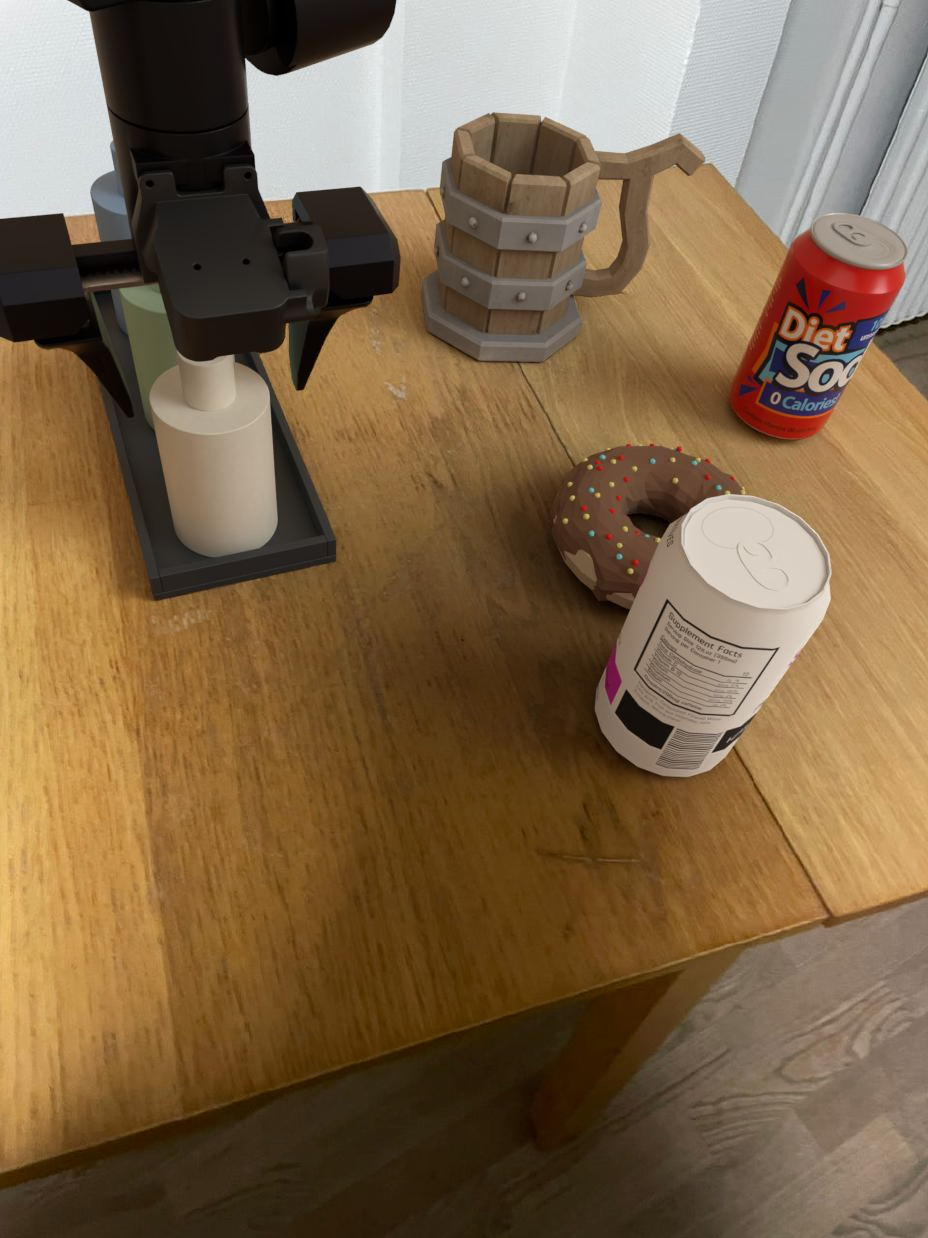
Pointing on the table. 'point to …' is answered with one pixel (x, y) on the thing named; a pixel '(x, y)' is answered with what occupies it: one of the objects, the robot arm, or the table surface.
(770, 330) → the soda can
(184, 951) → the table surface
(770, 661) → the supplement can
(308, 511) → the tray
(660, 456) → the donut
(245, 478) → the cream bottle
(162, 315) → the sage bottle
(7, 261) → the robot arm
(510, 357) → the tankard
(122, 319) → the blue bottle
